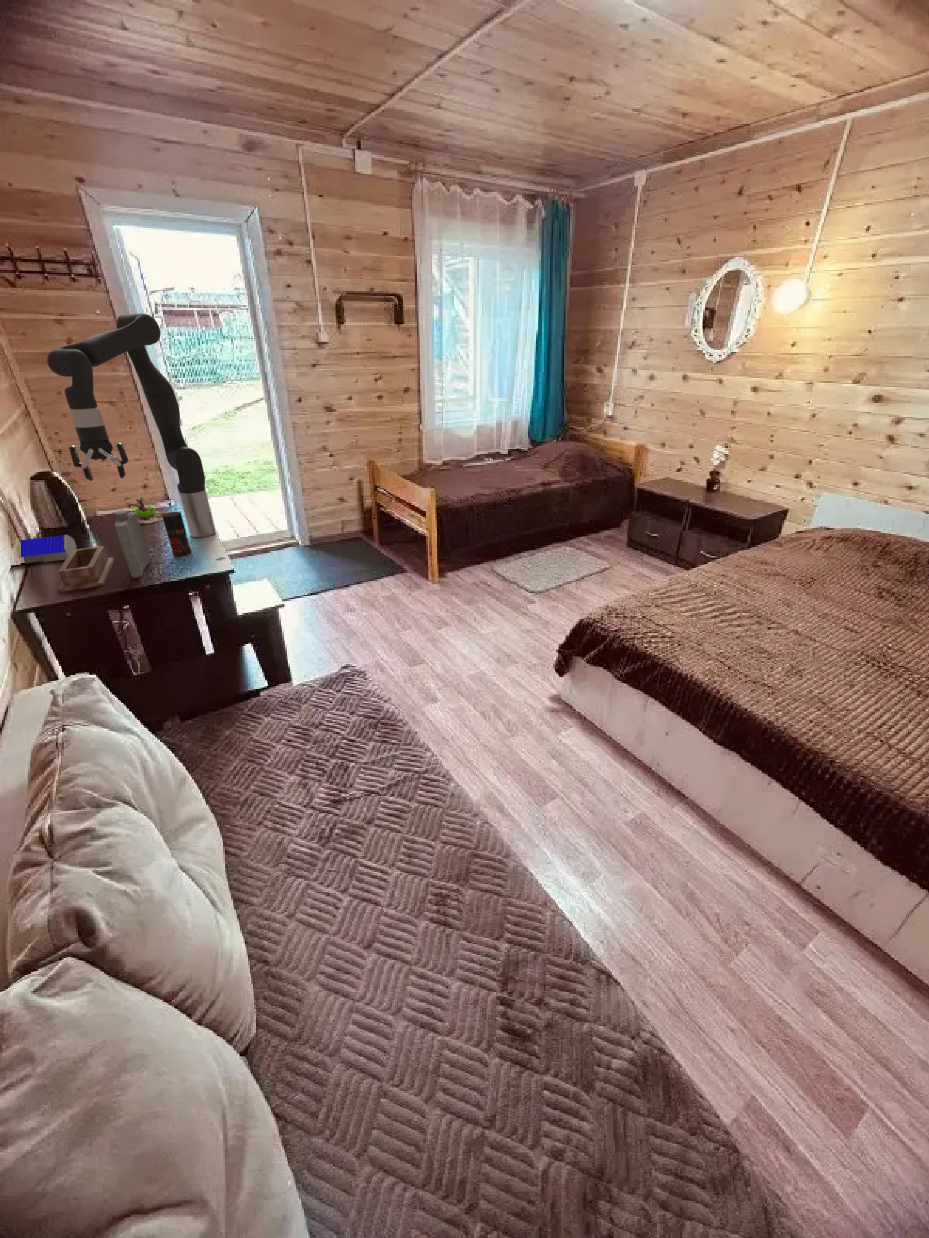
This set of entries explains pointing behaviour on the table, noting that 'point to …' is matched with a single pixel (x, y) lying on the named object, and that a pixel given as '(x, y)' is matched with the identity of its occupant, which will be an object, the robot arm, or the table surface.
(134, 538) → the hip flask
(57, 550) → the blue slatted box
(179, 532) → the deodorant
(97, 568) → the walnut open box
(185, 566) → the table surface
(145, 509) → the plant
